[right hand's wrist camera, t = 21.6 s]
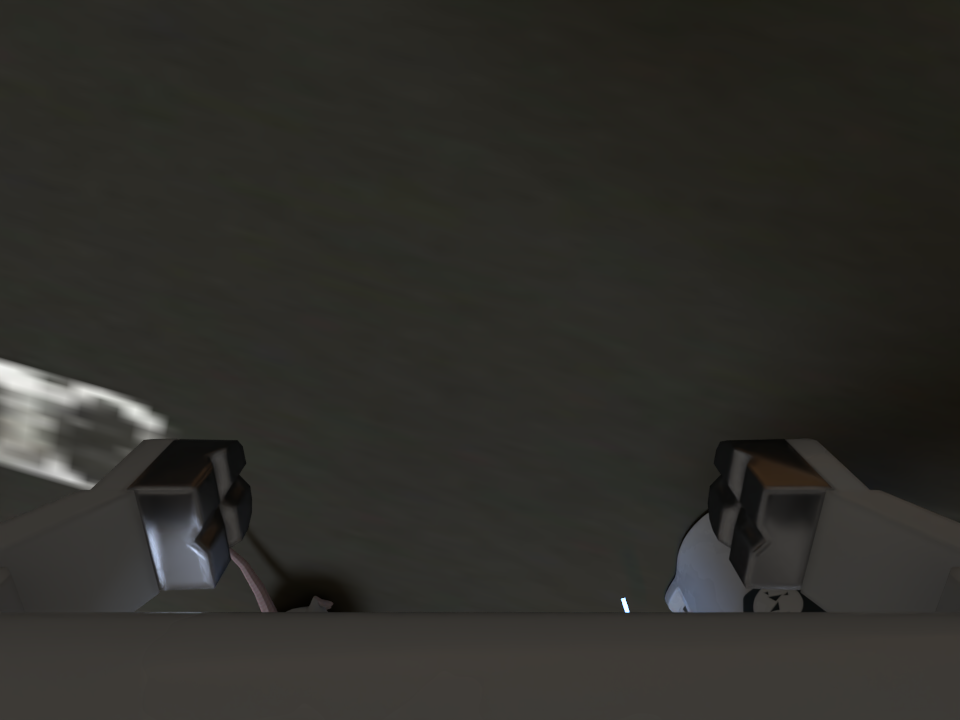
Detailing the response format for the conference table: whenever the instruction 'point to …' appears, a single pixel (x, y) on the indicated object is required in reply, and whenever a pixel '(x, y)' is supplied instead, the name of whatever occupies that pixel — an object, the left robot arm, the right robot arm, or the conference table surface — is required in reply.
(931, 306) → the conference table surface
